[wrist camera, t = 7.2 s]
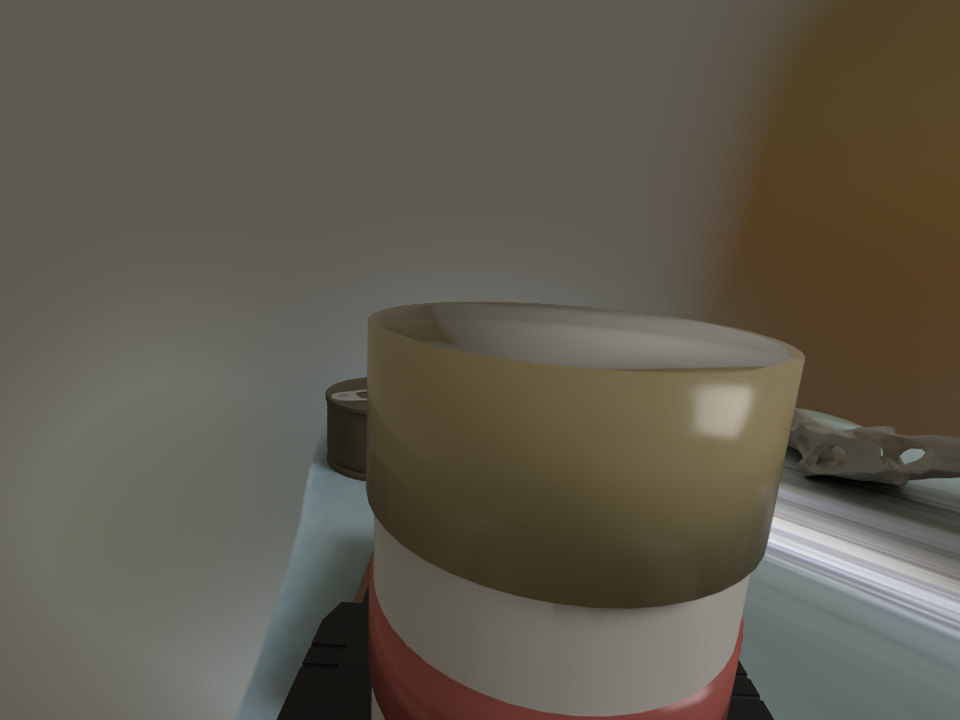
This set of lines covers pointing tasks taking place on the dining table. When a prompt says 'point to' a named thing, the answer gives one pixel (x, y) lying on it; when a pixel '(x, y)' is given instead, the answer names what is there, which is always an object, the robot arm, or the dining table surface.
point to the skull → (871, 452)
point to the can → (347, 428)
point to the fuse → (566, 508)
